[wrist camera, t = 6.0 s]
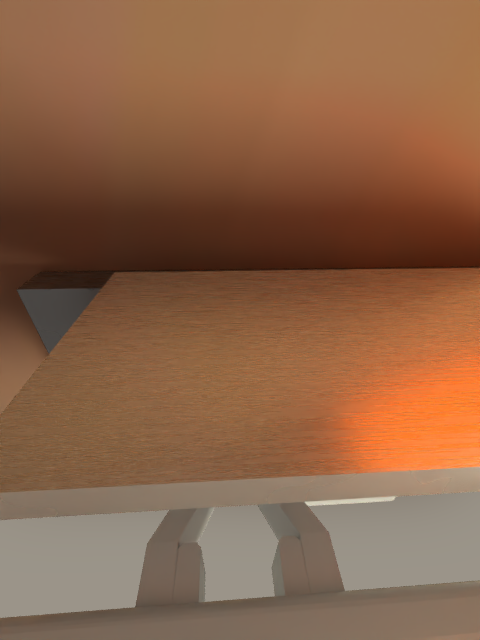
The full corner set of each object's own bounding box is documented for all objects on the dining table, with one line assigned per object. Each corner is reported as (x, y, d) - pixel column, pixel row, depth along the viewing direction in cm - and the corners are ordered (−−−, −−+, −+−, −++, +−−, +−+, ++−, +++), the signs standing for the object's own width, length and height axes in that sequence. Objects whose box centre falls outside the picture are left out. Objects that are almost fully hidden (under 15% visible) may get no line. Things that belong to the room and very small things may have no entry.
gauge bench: (107, 425, 16) (19, 645, 9) (33, 257, 10) (-372, 513, 3) (484, 409, 18) (661, 591, 10) (611, 252, 12) (1213, 426, 5)
